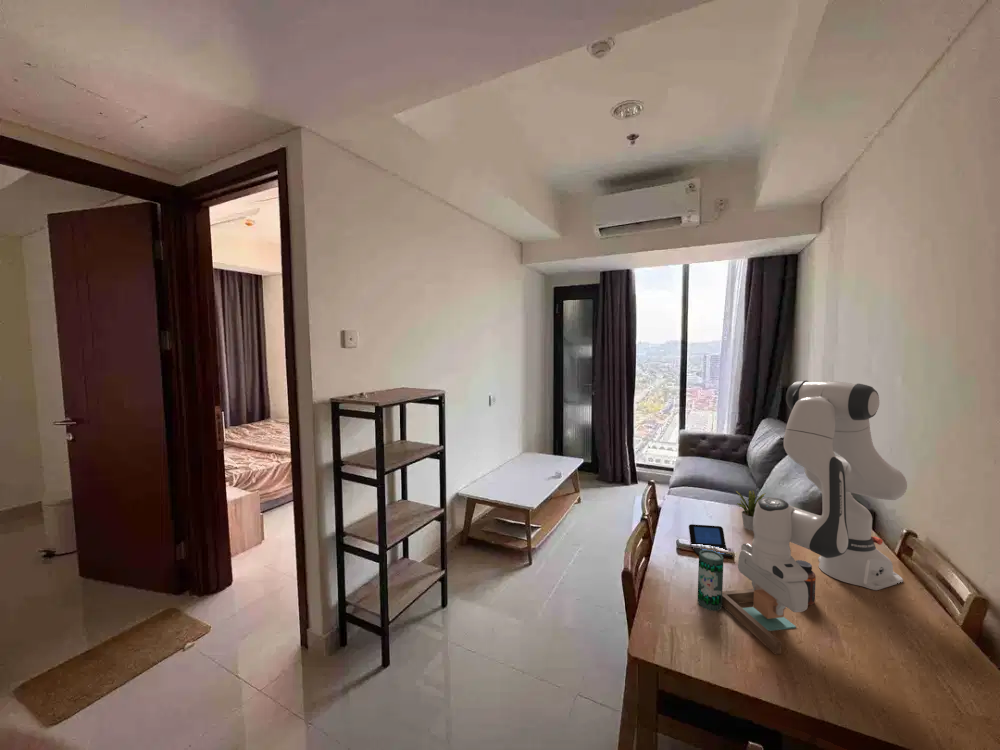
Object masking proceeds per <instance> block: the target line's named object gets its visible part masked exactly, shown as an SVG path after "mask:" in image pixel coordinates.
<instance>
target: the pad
mask: <svg viewBox="0 0 1000 750" xmlns="http://www.w3.org/2000/svg"><path fill="white" fill-rule="evenodd" d="M742 608H743V609H744V610H745V611H746V612H747V613H748V614H749V615H751V616H752V617H753V618H754V619H755V620H756V621H758V622H759V623H760V624H761V625H762V626H763V627H765V628H766V629H767V630H768V631H769V632H771V631H772V632H773V631H779V630H790V629H796V628H797V626H796V625H795V624H794V623H792V622H791V621H790V620H789V619H787V618H786V617H785V616H784V617H780V618H771V619H767V618H766V617H765V616H763V615H762V614H761V613H760V612H759V611H757V610H756V609H755V608H754V607H753V606H749V607H742Z"/></svg>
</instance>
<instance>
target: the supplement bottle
mask: <svg viewBox="0 0 1000 750" xmlns="http://www.w3.org/2000/svg"><path fill="white" fill-rule="evenodd" d="M795 561H796V562H797V563H798V564H799V565H800V566H801V567H802V568H803V569H804V570H805V571H806V572H807V574H808V579H807V580H804V582H805V583H806V585H807V588H808V606H812V605H814V604H815V602H816V581H817V580H816V578H817V577H816V573H815V572H814V571H813V570H812V568H813V566H812V564H811V562H809V561H805V560H802V559H801V560H800V559H795Z"/></svg>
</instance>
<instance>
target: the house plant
mask: <svg viewBox="0 0 1000 750" xmlns="http://www.w3.org/2000/svg"><path fill="white" fill-rule="evenodd" d="M735 492H736V493H737V494H738V496H739V498H741V499H740V500H739V501H740V503H739V502H738V503H736V505H738V507H741V508H742V509H743V510H742V511H741V518H742V525H743V529H745V530H748V531H752V532H753V518H754V512H755V507H756V504H757V502H758V501H759V500H760V499H762V498H763V497H764V498H765V495H766V492H765V493H762V494H761V495H760V496H759V497H757V496H756V494H755V491H754V490H748V499H747V500H748V502H747V501H746V500H745V499H746V498H744V496H743V495H742V494H741V493H740V492H738V491H737V490H735ZM756 498H757V499H756ZM767 498H772V497H767Z"/></svg>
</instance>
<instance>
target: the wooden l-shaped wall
mask: <svg viewBox="0 0 1000 750" xmlns="http://www.w3.org/2000/svg"><path fill="white" fill-rule="evenodd" d="M761 589H762V588H761ZM750 602H751V603H754V588H746V589H745V588H744V589H735V590H724V591H723V590H722V607H723V608H724V609H725V610H726V611H727V612H728V613H730V614H731V615H732V616H733V617H734V618H735V619H737V620H738V622H739V623H740V624H742V625H743V626H744V627H745V628H746V629H747V630H748V631H749V632H750V633H751V634H752V635H753V636H755V638H757V639H758V640H759V641H760V642H762V644H764V645H765V646H766V647H767V648H768V649H769V650H770V651H771V652H772V653H773V654H775V655H781V654H782V641H781V640H780V639H778V638H777V637H776V636H775V635H774V634H772V633H771V631H768V630H767V629H766V628H765V627H763V626H762V625H761V624H760V623H759V622H758V621H756V620H755V619H754V618H753V617H752V616H751V615H749V614H748V613H747V612H746V611H745V610H744V609H743V608H744V607H742V606H740V605H739V604H741V603H744V604H745V603H750Z"/></svg>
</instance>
